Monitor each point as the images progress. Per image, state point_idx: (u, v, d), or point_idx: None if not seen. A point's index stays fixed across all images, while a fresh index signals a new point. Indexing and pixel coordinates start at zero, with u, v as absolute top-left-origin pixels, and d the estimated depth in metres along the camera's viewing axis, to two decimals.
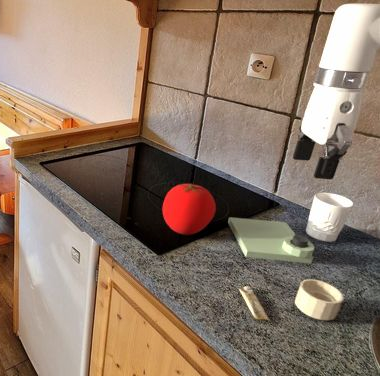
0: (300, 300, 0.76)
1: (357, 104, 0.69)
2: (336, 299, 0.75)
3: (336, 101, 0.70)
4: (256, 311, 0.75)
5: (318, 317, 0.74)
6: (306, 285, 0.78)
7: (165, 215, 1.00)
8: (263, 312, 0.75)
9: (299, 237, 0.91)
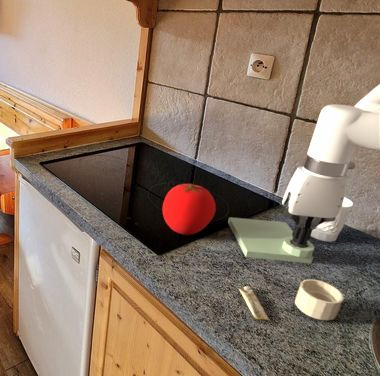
0: (300, 300, 0.76)
1: None
2: (336, 299, 0.75)
3: None
4: (256, 311, 0.75)
5: (318, 317, 0.74)
6: (306, 285, 0.78)
7: (165, 215, 1.00)
8: (263, 312, 0.75)
9: None
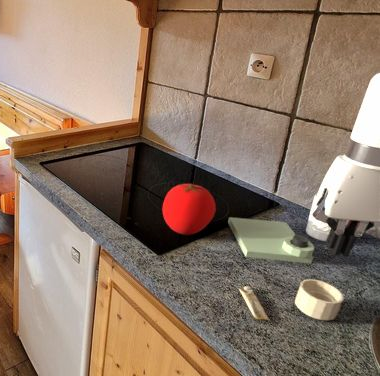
0: (300, 300, 0.76)
1: None
2: (336, 299, 0.75)
3: None
4: (256, 311, 0.75)
5: (318, 317, 0.74)
6: (306, 285, 0.78)
7: (165, 215, 1.00)
8: (263, 312, 0.75)
9: (299, 237, 0.91)
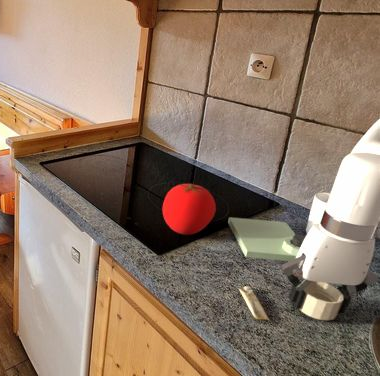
0: None
1: None
2: (336, 299, 0.75)
3: None
4: (256, 311, 0.75)
5: (318, 317, 0.74)
6: None
7: (165, 215, 1.00)
8: (263, 312, 0.75)
9: (299, 237, 0.91)
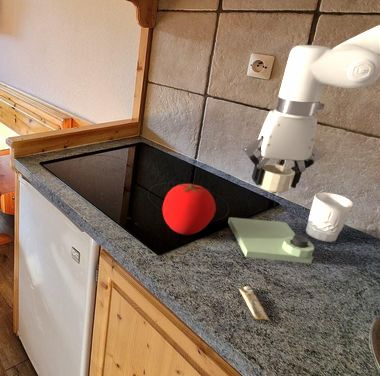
0: None
1: None
2: None
3: (316, 124, 0.84)
4: (256, 311, 0.75)
5: (274, 189, 0.90)
6: (266, 169, 0.94)
7: (165, 215, 1.00)
8: (263, 312, 0.75)
9: (299, 237, 0.91)
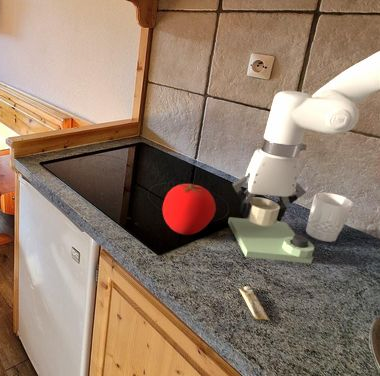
0: None
1: None
2: None
3: (299, 164, 0.90)
4: (256, 311, 0.75)
5: (260, 223, 0.95)
6: (253, 202, 1.00)
7: (165, 215, 1.00)
8: (263, 312, 0.75)
9: (299, 237, 0.91)
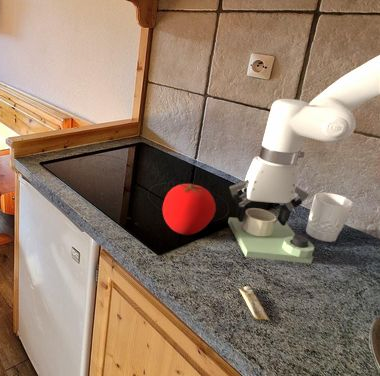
0: (245, 223, 0.99)
1: None
2: None
3: (297, 171, 0.91)
4: (256, 311, 0.75)
5: (257, 234, 0.97)
6: (251, 212, 1.01)
7: (165, 215, 1.00)
8: (263, 312, 0.75)
9: (299, 237, 0.91)
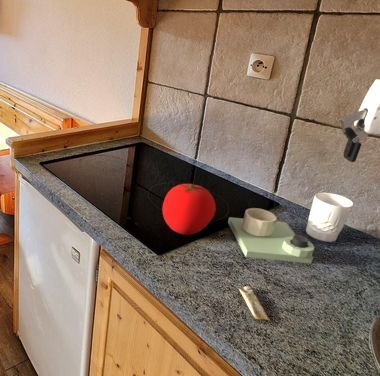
0: (245, 223, 0.99)
1: None
2: None
3: None
4: (256, 311, 0.75)
5: (257, 234, 0.97)
6: (251, 212, 1.01)
7: (165, 215, 1.00)
8: (263, 312, 0.75)
9: (299, 237, 0.91)
